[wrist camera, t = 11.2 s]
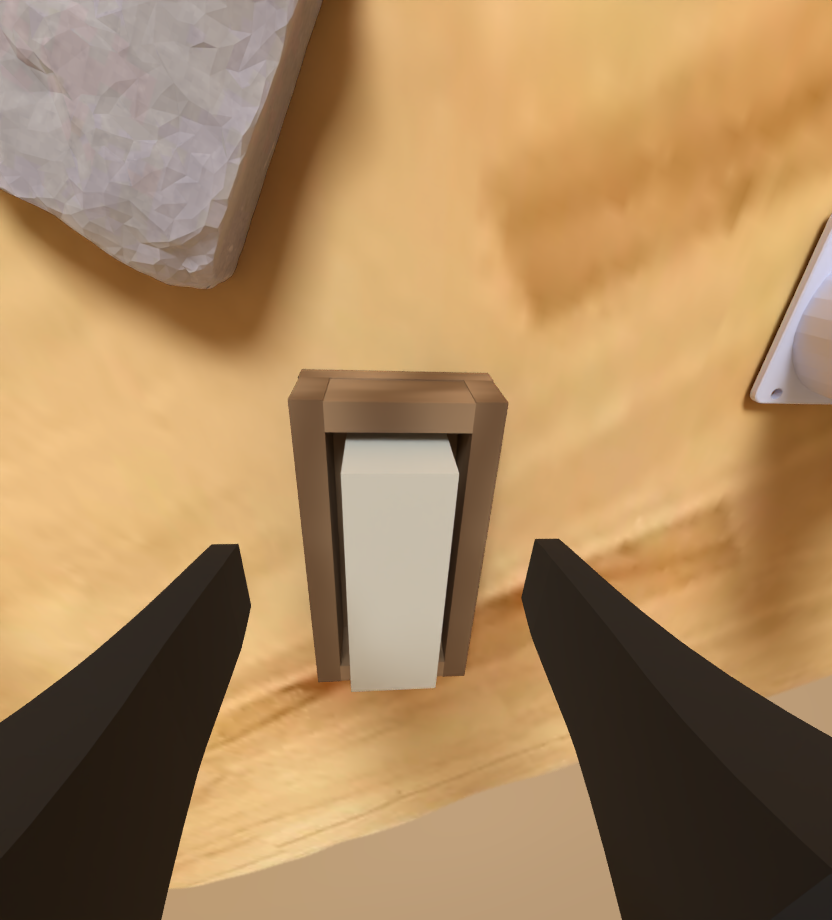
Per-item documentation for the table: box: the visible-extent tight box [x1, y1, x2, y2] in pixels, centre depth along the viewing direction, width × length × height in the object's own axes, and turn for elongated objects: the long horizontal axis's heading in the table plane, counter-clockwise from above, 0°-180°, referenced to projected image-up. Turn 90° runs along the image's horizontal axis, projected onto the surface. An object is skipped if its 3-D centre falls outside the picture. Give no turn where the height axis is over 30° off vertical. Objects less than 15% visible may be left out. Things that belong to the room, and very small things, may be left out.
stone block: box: [0, 0, 323, 289], centre depth 11 cm, size 12×5×10 cm
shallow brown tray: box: [288, 369, 508, 682], centre depth 21 cm, size 8×16×4 cm, turn 178°
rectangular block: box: [341, 432, 459, 692], centre depth 19 cm, size 4×12×4 cm, turn 178°
